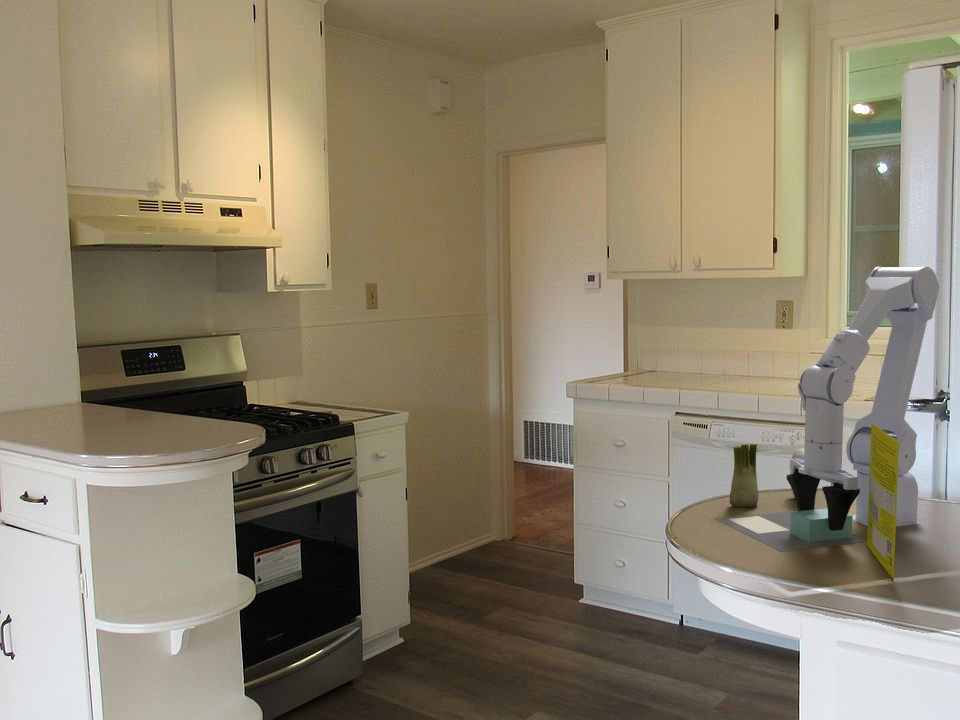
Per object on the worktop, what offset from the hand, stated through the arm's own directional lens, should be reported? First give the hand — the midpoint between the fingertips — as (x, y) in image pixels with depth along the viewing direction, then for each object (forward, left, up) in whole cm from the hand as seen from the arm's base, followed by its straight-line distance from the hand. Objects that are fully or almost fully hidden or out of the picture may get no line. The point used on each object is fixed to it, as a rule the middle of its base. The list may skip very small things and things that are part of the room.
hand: (820, 523), depth 148 cm
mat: (+3, -5, -3) cm, 6 cm away
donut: (-12, -22, -3) cm, 25 cm away
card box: (0, 0, -2) cm, 2 cm away
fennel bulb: (+1, -21, -3) cm, 21 cm away
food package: (0, +14, -3) cm, 14 cm away
